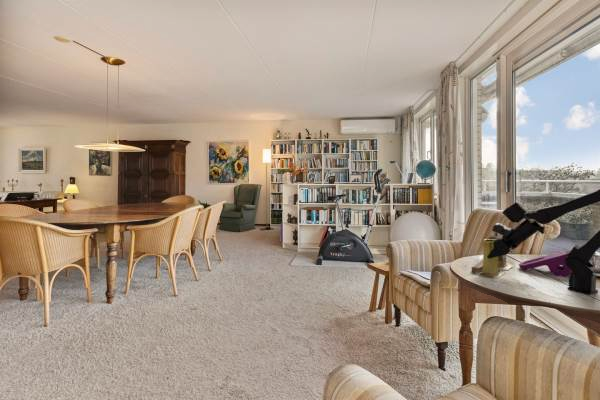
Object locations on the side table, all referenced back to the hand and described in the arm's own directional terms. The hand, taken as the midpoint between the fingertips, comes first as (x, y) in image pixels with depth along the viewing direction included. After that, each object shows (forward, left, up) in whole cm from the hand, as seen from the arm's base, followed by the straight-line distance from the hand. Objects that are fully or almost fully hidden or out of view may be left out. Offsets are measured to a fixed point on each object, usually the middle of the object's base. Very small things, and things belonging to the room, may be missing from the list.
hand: (491, 255), depth 136 cm
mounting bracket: (-8, -23, -9) cm, 26 cm away
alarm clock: (+14, -24, -8) cm, 29 cm away
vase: (0, 0, -8) cm, 8 cm away
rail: (+4, -6, -8) cm, 11 cm away
